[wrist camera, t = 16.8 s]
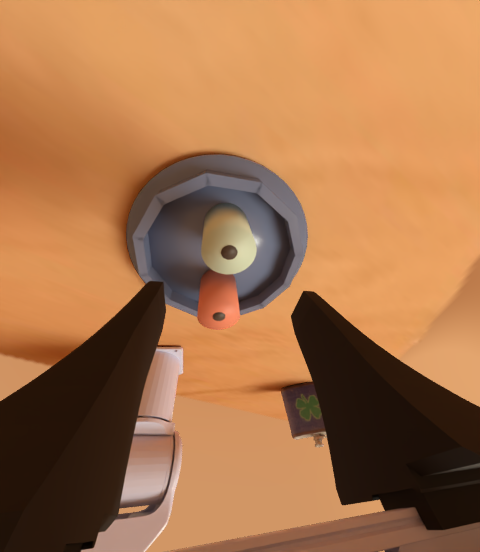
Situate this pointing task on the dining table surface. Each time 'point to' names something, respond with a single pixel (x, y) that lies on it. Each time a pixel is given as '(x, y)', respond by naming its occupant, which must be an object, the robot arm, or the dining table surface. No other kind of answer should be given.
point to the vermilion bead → (218, 301)
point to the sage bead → (227, 240)
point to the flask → (304, 412)
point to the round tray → (190, 223)
